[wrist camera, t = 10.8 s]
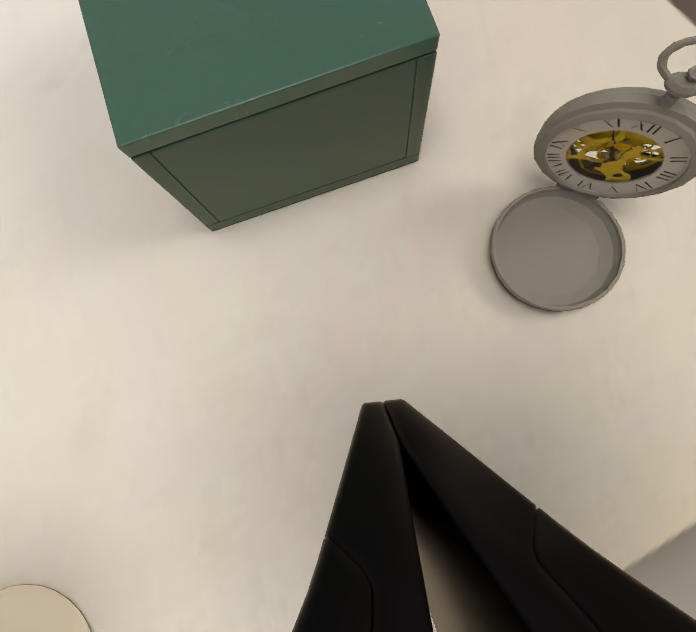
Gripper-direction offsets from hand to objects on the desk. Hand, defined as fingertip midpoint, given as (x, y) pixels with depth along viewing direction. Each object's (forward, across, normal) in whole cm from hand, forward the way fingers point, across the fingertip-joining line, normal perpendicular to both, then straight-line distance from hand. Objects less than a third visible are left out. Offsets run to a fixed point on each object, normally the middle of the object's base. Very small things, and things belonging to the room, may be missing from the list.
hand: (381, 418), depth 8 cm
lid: (+15, +3, -12) cm, 20 cm away
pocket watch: (+14, -13, +1) cm, 19 cm away
